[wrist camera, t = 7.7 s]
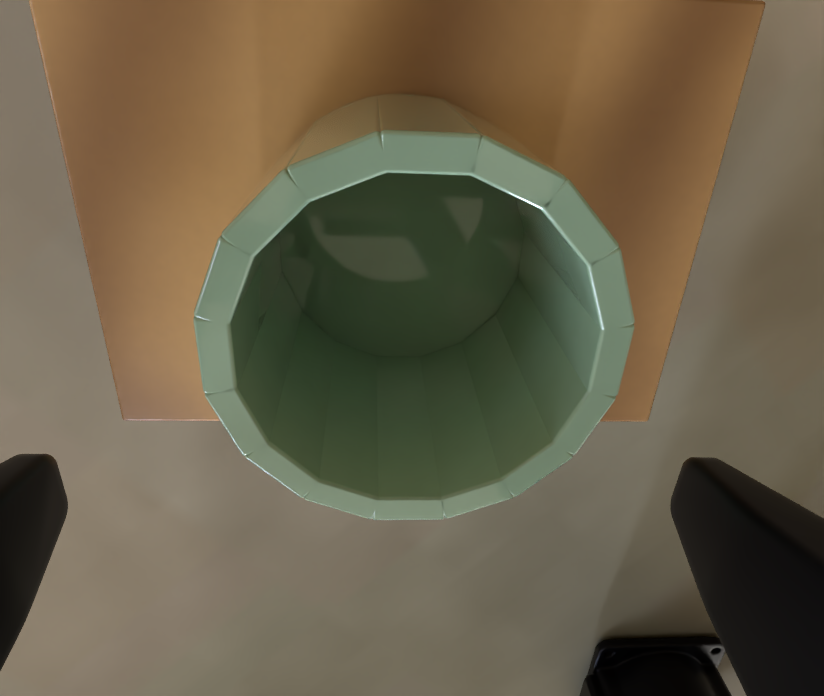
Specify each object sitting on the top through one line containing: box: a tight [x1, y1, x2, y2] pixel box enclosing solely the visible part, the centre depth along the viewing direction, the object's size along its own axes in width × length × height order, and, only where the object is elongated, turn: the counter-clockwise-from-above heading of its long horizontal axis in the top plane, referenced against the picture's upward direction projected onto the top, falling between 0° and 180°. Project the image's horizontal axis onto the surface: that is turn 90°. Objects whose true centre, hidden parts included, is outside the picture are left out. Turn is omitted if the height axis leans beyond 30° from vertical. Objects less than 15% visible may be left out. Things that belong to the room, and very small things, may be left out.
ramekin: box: [193, 93, 635, 520], centre depth 11 cm, size 6×6×6 cm
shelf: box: [29, 0, 765, 421], centre depth 16 cm, size 14×10×6 cm
